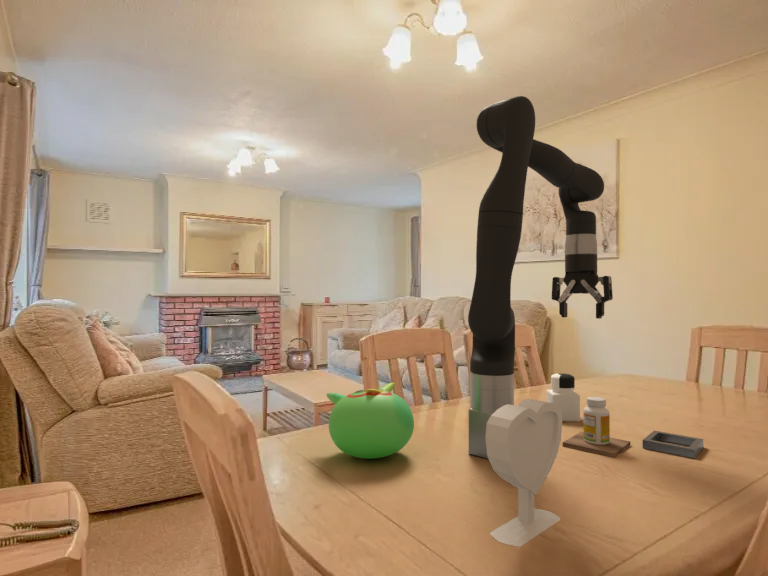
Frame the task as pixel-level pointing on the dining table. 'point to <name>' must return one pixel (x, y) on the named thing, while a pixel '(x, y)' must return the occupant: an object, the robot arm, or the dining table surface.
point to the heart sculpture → (524, 462)
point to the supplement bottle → (596, 421)
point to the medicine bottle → (565, 396)
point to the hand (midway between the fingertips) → (581, 317)
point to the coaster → (609, 449)
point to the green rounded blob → (370, 422)
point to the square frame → (654, 444)
